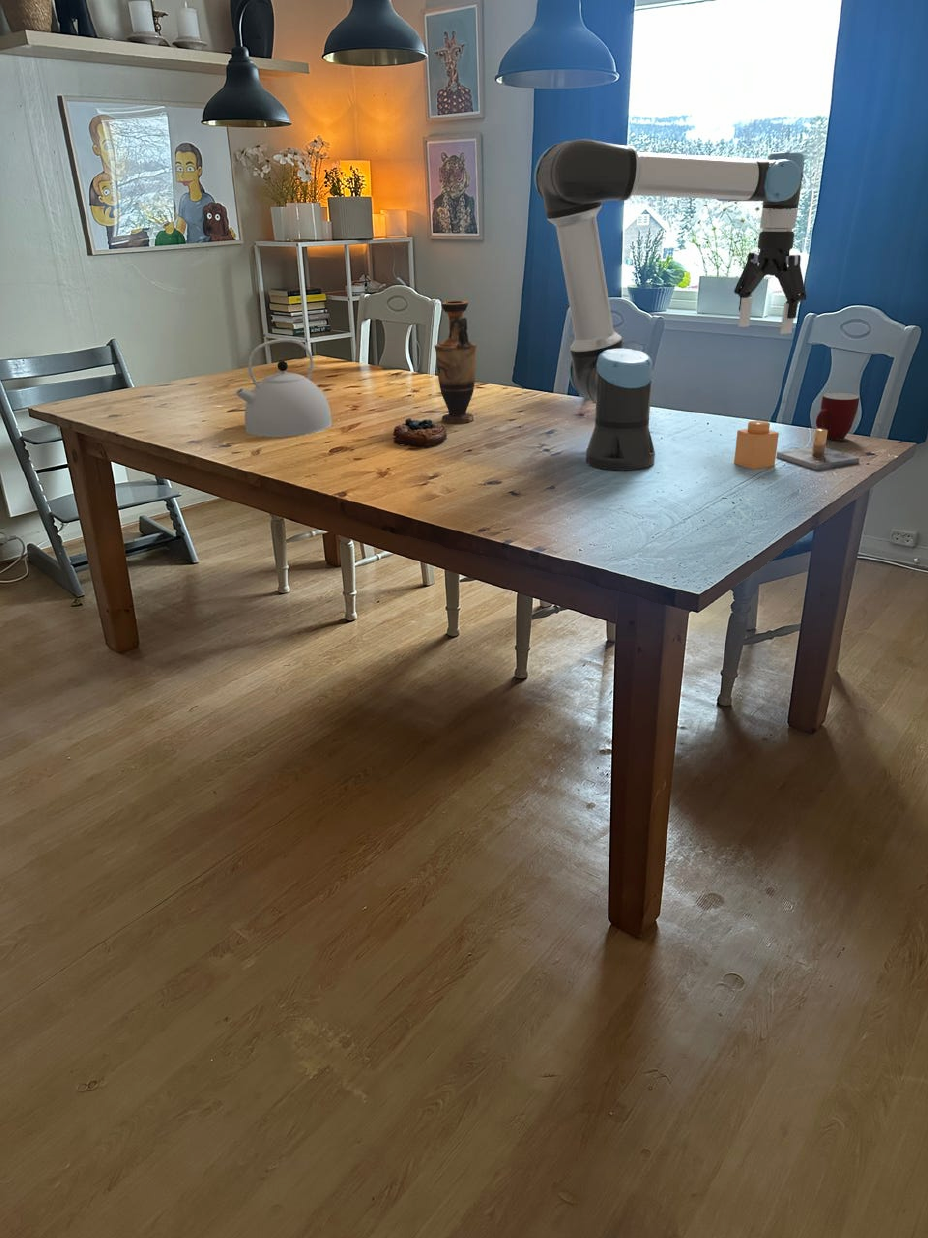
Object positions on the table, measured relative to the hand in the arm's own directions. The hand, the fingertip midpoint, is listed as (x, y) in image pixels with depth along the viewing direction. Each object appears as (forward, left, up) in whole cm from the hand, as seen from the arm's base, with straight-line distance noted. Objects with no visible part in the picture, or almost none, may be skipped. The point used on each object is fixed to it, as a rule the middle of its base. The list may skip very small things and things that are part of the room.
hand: (764, 330), depth 208 cm
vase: (-56, +50, -25) cm, 79 cm away
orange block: (-17, -21, -24) cm, 37 cm away
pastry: (-73, +34, -25) cm, 85 cm away
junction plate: (-3, -25, -24) cm, 35 cm away
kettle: (-99, +66, -25) cm, 122 cm away
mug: (+13, -13, -25) cm, 31 cm away
